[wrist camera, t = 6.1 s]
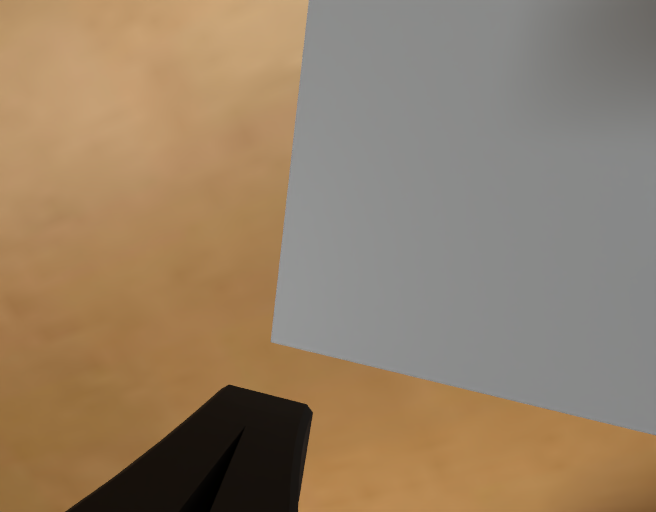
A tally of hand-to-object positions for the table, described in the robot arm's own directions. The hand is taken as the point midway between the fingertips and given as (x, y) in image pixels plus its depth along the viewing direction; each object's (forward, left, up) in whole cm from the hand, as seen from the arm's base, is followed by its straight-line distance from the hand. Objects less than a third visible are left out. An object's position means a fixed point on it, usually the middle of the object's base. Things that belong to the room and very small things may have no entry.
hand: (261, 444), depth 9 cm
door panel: (+3, -5, -9) cm, 11 cm away
